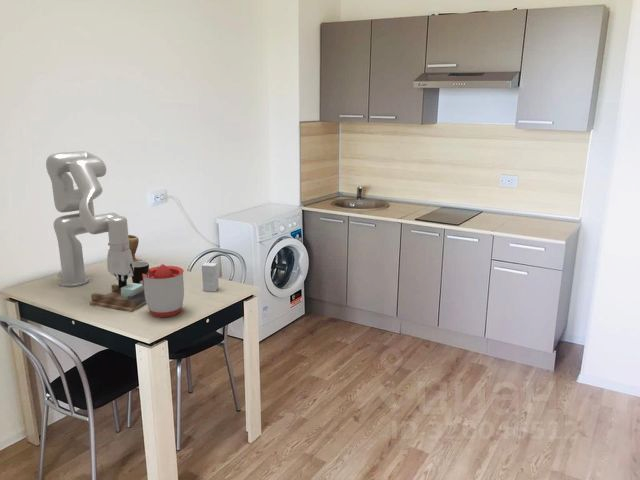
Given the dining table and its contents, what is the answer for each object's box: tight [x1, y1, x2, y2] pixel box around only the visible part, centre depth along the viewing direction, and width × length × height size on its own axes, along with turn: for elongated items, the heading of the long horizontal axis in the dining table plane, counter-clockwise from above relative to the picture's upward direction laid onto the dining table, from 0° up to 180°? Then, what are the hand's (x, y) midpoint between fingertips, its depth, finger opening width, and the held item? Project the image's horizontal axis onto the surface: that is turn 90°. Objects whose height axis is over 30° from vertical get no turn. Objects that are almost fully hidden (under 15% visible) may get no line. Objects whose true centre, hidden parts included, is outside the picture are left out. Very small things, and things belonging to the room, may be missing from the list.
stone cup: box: [128, 234, 140, 262], centre depth 274 cm, size 15×12×15 cm
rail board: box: [89, 283, 147, 313], centre depth 224 cm, size 21×16×6 cm
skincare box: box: [201, 262, 220, 292], centre depth 238 cm, size 6×4×12 cm
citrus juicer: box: [140, 264, 185, 318], centre depth 212 cm, size 16×17×20 cm
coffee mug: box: [131, 260, 150, 284], centre depth 245 cm, size 12×9×10 cm
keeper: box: [121, 282, 144, 299], centre depth 222 cm, size 6×7×6 cm
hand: (123, 288), depth 223 cm, fingers closed
